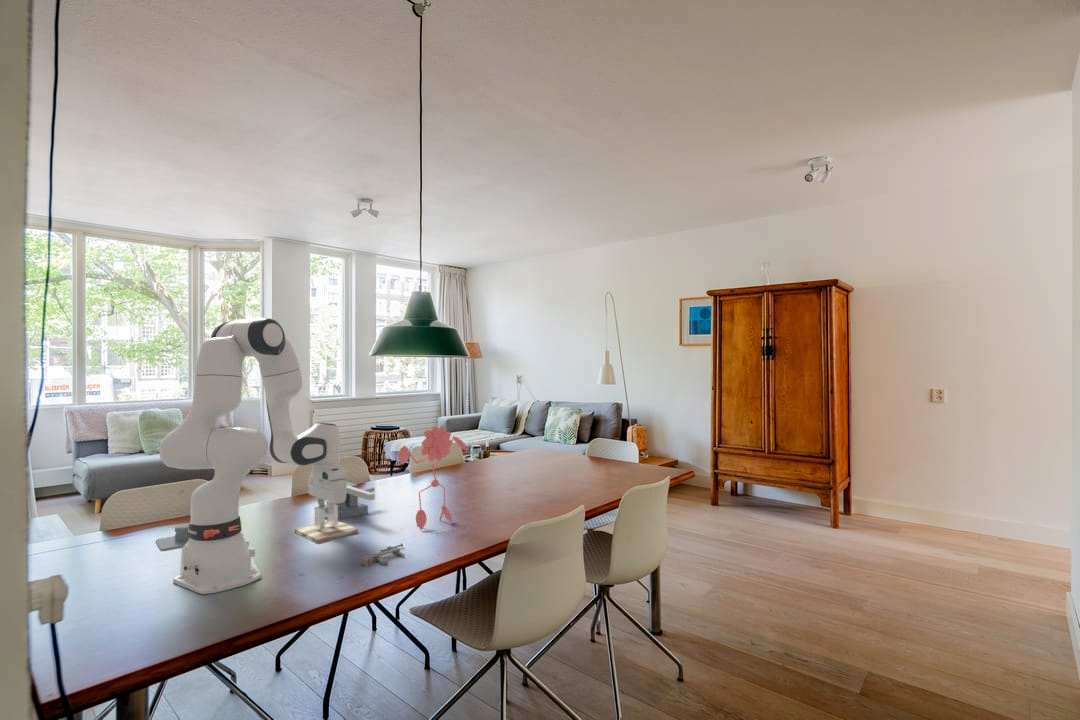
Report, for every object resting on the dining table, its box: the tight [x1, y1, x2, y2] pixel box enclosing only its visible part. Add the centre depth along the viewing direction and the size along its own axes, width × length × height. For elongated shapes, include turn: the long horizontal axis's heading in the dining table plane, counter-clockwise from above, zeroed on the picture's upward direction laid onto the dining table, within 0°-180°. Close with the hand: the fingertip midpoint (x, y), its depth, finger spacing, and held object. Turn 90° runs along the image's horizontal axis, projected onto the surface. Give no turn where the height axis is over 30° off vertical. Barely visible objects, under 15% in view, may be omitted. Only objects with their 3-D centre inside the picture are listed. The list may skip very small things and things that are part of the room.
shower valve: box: [155, 522, 190, 552], centre depth 168 cm, size 12×6×15 cm
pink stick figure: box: [397, 425, 469, 535], centre depth 181 cm, size 15×26×35 cm, turn 132°
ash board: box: [294, 520, 359, 544], centre depth 175 cm, size 16×14×1 cm
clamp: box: [361, 543, 405, 567], centre depth 153 cm, size 15×2×10 cm
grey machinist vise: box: [325, 481, 376, 521], centre depth 194 cm, size 27×20×11 cm
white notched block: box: [314, 504, 339, 529], centre depth 175 cm, size 4×6×6 cm, turn 138°
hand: (326, 512), depth 175 cm, fingers closed on white notched block, 4 cm apart
